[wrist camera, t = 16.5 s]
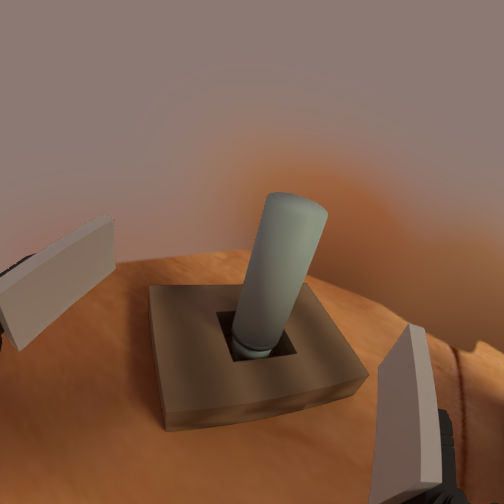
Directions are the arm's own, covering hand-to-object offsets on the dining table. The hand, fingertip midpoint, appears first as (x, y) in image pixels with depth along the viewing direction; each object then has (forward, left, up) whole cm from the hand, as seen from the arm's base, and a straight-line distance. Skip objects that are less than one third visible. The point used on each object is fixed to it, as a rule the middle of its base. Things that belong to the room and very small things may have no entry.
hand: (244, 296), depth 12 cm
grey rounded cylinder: (-6, -8, -15) cm, 19 cm away
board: (-6, -8, -15) cm, 19 cm away
